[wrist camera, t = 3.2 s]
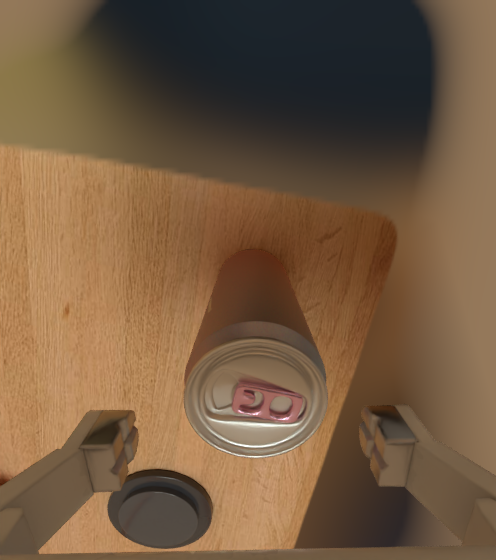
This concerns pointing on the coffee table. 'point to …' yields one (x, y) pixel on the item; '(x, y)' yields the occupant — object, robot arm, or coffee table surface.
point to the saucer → (160, 509)
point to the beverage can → (254, 363)
